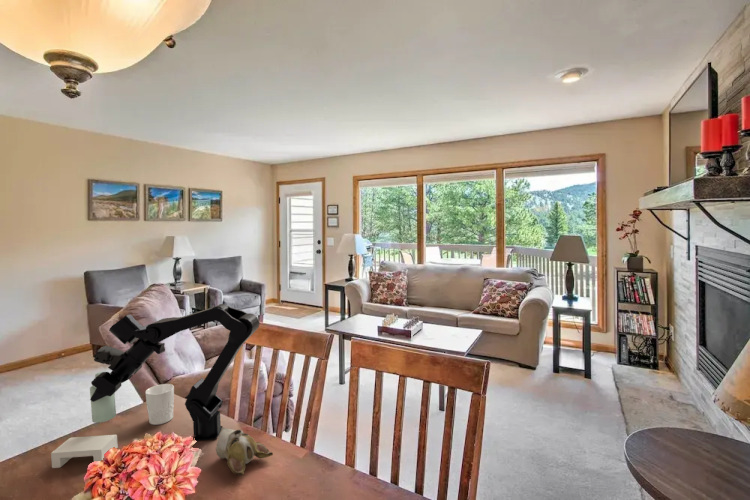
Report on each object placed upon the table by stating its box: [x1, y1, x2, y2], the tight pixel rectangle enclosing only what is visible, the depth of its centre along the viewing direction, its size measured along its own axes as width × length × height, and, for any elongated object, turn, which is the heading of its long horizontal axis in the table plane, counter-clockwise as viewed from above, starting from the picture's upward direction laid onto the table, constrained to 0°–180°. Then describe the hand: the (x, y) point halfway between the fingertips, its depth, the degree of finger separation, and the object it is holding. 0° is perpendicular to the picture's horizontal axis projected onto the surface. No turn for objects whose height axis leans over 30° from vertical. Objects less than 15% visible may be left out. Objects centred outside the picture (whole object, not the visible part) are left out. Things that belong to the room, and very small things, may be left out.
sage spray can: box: [89, 371, 117, 424], centre depth 107 cm, size 6×6×13 cm
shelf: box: [50, 434, 119, 469], centre depth 100 cm, size 12×7×4 cm, turn 96°
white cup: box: [144, 383, 175, 426], centre depth 119 cm, size 8×8×10 cm
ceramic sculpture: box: [215, 426, 274, 476], centre depth 97 cm, size 11×9×15 cm
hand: (97, 395), depth 107 cm, fingers closed on sage spray can, 6 cm apart
